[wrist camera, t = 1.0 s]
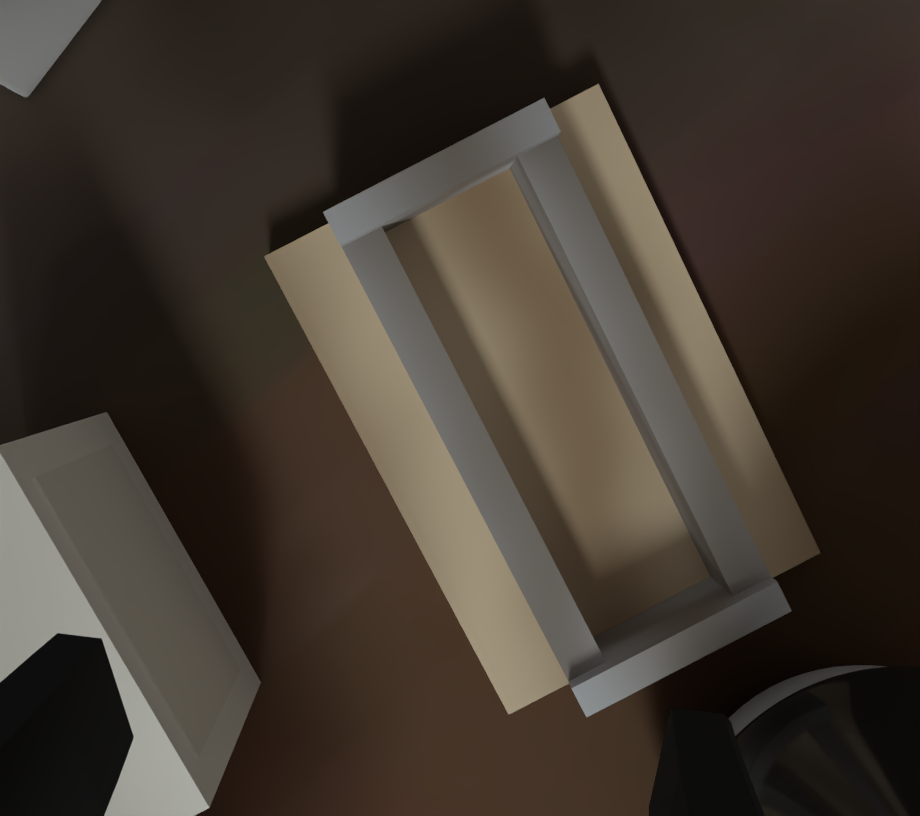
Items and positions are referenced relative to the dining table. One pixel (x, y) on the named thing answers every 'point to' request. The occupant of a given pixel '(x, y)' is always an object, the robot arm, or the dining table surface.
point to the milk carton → (36, 37)
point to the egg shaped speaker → (835, 742)
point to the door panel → (121, 609)
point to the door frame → (550, 406)
